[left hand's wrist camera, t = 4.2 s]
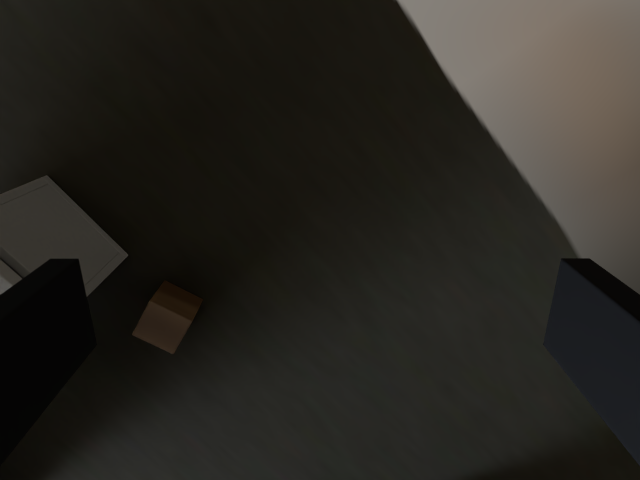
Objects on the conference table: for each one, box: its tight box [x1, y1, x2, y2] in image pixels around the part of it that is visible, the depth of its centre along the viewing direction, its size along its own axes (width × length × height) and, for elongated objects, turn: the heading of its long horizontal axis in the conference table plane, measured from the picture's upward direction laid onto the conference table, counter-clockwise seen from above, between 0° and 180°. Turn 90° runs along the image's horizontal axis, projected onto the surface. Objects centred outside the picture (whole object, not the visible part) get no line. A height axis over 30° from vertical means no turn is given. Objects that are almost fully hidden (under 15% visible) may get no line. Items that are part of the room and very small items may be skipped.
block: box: [132, 280, 203, 354], centre depth 43 cm, size 4×4×4 cm
